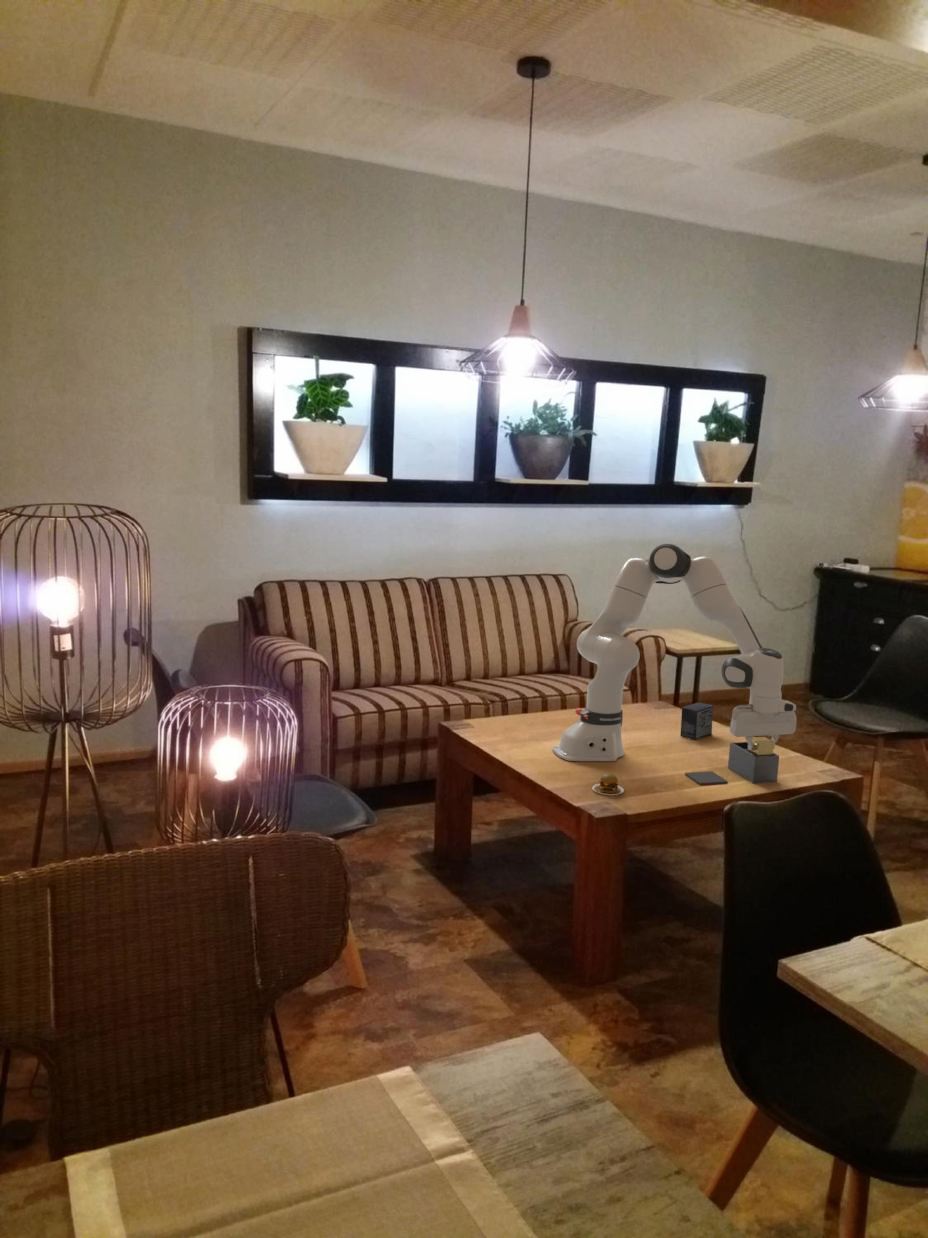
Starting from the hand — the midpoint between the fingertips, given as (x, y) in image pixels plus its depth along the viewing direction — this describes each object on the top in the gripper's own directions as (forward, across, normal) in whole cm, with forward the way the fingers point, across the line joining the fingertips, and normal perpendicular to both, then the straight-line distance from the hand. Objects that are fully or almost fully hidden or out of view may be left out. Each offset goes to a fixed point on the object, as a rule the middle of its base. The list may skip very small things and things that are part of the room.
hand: (760, 749), depth 281 cm
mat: (+9, -16, +2) cm, 19 cm away
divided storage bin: (+9, 0, +3) cm, 10 cm away
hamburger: (+10, -49, -1) cm, 50 cm away
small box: (+9, +3, +43) cm, 45 cm away
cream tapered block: (+5, 0, 0) cm, 5 cm away
